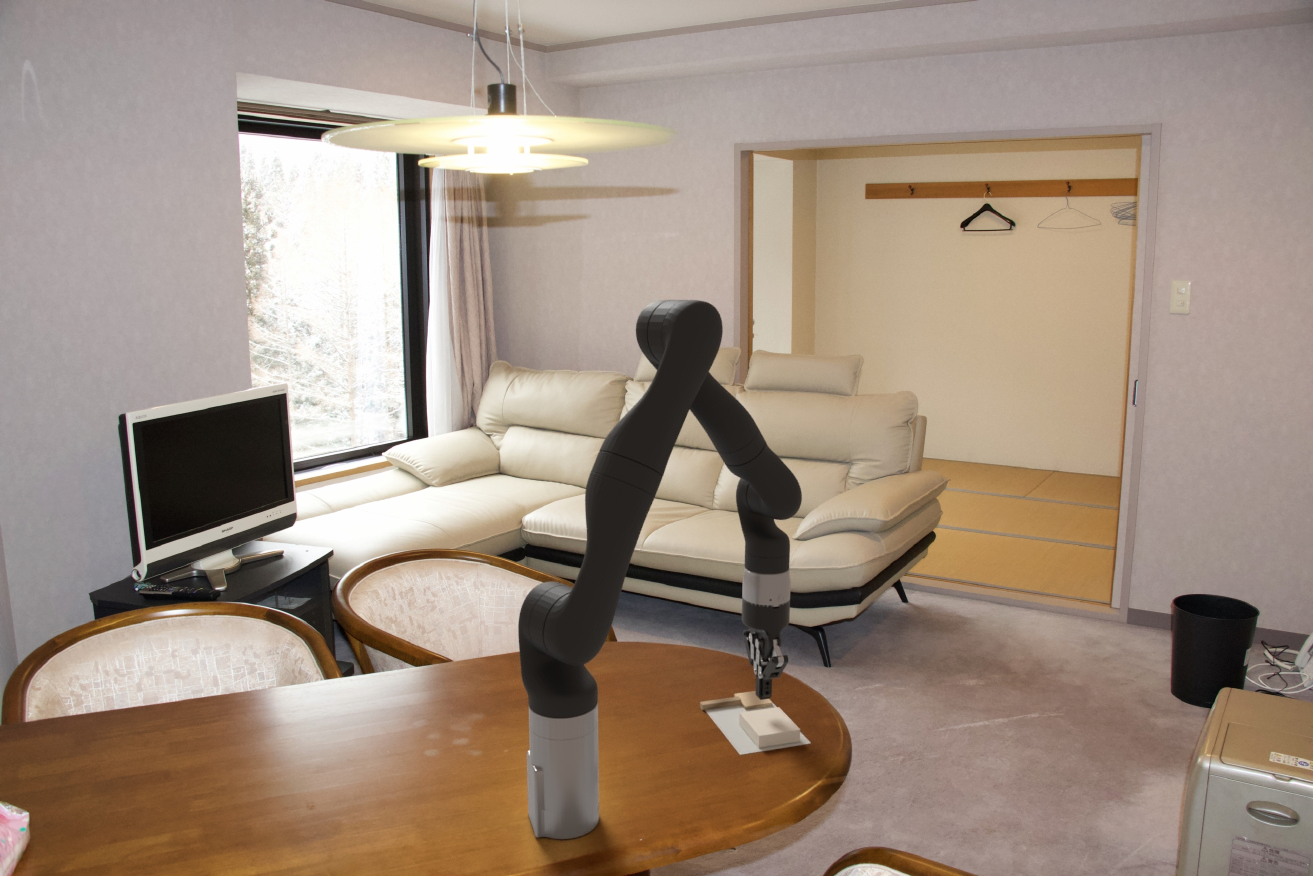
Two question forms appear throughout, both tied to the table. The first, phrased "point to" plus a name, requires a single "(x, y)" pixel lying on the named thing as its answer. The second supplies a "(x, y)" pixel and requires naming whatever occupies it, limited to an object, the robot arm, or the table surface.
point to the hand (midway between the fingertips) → (763, 697)
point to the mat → (737, 736)
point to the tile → (769, 727)
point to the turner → (737, 702)
